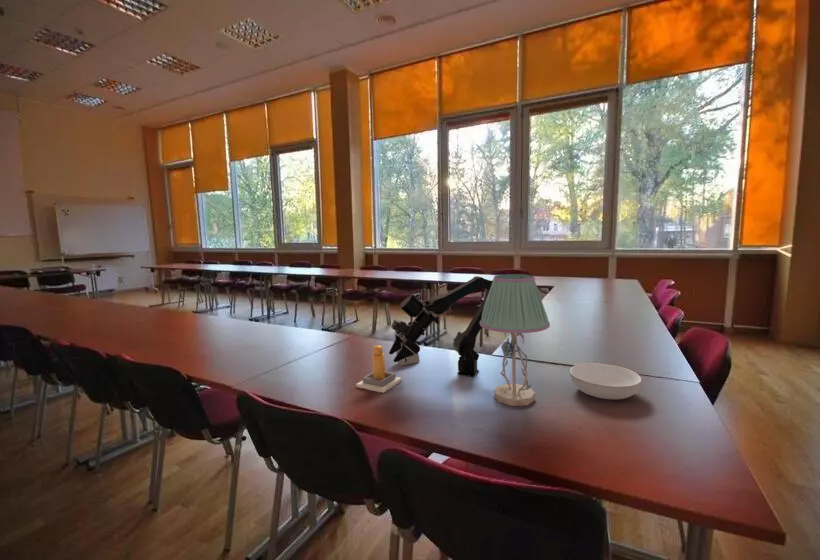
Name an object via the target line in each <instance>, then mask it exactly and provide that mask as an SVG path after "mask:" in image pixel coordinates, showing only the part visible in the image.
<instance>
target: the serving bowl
mask: <svg viewBox="0 0 820 560" xmlns="http://www.w3.org/2000/svg"><path fill="white" fill-rule="evenodd" d="M569 375H570V379H571V382H572V383H573V384H574V386H575V387H576V388H577V389H578V390H579V391H580V392H582V393H584V394H586V395H588V396H591V397H595V398H599V399H604V400H624V399H628V398H631V397H632V396H634V395H635V394H637V392H639V390H640V387H641V384H642V380H643V379H642V377H641V376H640V375H639V374H638V373H636V372H635V371H632V370H630V369H628V368H626V367H622V366H618V365H613V364H605V363H599V362H598V363H595V362H594V363H593V362H591V363H589V362H588V363H579V364H575V365H573V366H571V368H570V369H569Z"/></svg>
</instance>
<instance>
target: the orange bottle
mask: <svg viewBox="0 0 820 560" xmlns="http://www.w3.org/2000/svg"><path fill="white" fill-rule="evenodd" d="M372 349H373V353H372V355H371V357H372V359H371V360H372V372H373V379H377V380H381V381H382V380H383V379H385V372H386V364H385V361H386V360H385V353H384V352H383V345H380V344H379V345H374V346H373V348H372Z"/></svg>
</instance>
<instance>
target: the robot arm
mask: <svg viewBox="0 0 820 560" xmlns="http://www.w3.org/2000/svg"><path fill="white" fill-rule="evenodd" d="M492 282H493V279H492V280H490V279H487V278H484V277H483V276H479V275H478V276H477V275H475V276H474V277H472V278H471V279H469V280H467V281H466V282H464V283H462V284H460V285H459V286H457V287H455V288H453V289H451V290H449V291H448V292H445V293H440V294H436V295H434V296H432V297H430V298H429V299H428V300H424V301H420V300H419V299H417V297H416V296H415V295H414V294H410V295H409V296H408V297H406V298H405V299H404V300H402V301H401V303H400V305H399V309H400V310H402V312H404V314H406V315H407V316H408V317H410V318H411V319H412V318H414V319H413V321H409V322H408V323H406V322H405V321H403V320H398V319H395V318H394V319H393V322H392V323H391V326H390V327H391V328H392V330H393V331H394V341H393V343H392V345H391V348H390V349H389V352H388V354H389V355H393V354H396V355H395V357H394V358H393V362H394V363H398V361H400V360H402V359H404V358H406V357H409V356H411V355H415V354H419V352H420V351H421V346H420V345H419V344H418V340H419V339H420V338H421V336H425V334H426V333H425V332H426V331H427V329H428V328H429V327H430V325H432V323H433V322H434V323H435V324H436V325H439V324H440V323H439V316H440V315H442V314H444V313H445V312H447V310H449V309H450V308H451V307H452V306H453V304H455V303H456V302H458V301H459V300H461V299H462V298H465V297H467V296H468V295H470V294H472V293H474V292H475V291H477V290H478V289H485V293H484V299H483V300H482V302H481V304H480V305H479V307H478V309H477V311H476V312H475V314H474V316H473V318H472V319H471V321H470V322H469V323H468V325H467V328H466V329H465V330H464V331H463V332H461V331H458V332H457V334H456V336H455V337H454V338H453V340H452V341H454V342H453V343H452V347H453V349H454V351H455V352H456V353H458V356H459V357H458V360H457V371H458V372H457V375H460V376H461V375H462V376H466V377H467V376H468V377H475V376H476V375H477V374H478V373H479V372H480V370H479V369H478V360H479V357H480V354H479V353H478V352H476V350H475V347H476V342H477V336H478V335H479V333H480V332H481V330H482V329H483V327H481V326H480V320H481V319H482V312H483V308H484V305H485V302H486V299H487V296H488V294H489V291H490V288H491V285H492ZM438 315H439V316H438ZM399 349H400V350H399ZM398 350H399V352H398V354H397V353H396V351H398ZM414 353H415V354H414ZM404 360H405V359H404Z"/></svg>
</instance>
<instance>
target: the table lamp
mask: <svg viewBox="0 0 820 560" xmlns="http://www.w3.org/2000/svg"><path fill="white" fill-rule="evenodd" d="M492 280H493V282H492V285H491V288H490V291H489V294H488V296H487V299H486V302H485V305H484V308H483V312H482V319H481V320H480V326H481V327H482V329H485V330H488V331H492V332H493V331H494V332H499V333H503V334H504V336H505V338H506V337H507V334H510V337H511V340H510V339H509V337H507V338H506V341H504V342H502V345H501V349H502V350H501V351H502V353H503V358H502V364H501V365H502V371H499V374H500V375H501V376H502V377H503V378H504V379H505V381H506V383H505V384H502V385H501V384H500V385H497V386H496V387H495V388H494V392H493V393H494V397H493V398H495V400H496V401H497V402H498V403H501V404H504V405H507V406H510V407H517V406H518V407H520V406H525V407H526V406H528V405H530V404H532V403H533V402H535V401H536V391H534V390H533V389H532V388H531V386H532V384H529V381H528V371H527V366H528V357H527V356H528V355H527V354H525V353H524V352H523V350H521V348H520V347H519V345H518V340H517V339H518V338H517V337H518V336H519V337H521V339H522V345H524V344H525V339H524V338H525V335H524V334H528V333H529V334H530V333H538V332H543V331H545V330H548V329H549V328H550V326H551V324H550V321H549V317H548V315H547V312H546V310H545V306H544V303H543V300H542V297H541V295H540V292H539V288H538V285H537V283H536V278H535V275H532V274H525V273H524V274H523V273H522V274H521V273H520V274H519V273H512V274H511V273H508V274H498V275H494V276H493V278H492ZM516 353H517V355H518V357H519V359H520V362H521V364H522V367H521V368H520V369H521V371H522V375H523V376H524V381H523V385H522V384H519V383H517V371H516V370H517V369H516V368H517V367H516V366H517V365H516V364H517V363H516ZM522 355H523V356H524V357H525V360H524V359H523V356H522ZM508 357H510V358H511V359H512V360H511V361H512V362H511V364H512V365H511V366H512V368H511V371H512V373H511V374H512V383H510V380H509V379H508V377H507V374H506V367H507V365H508V363H509V361H508V359H507V358H508Z"/></svg>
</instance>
